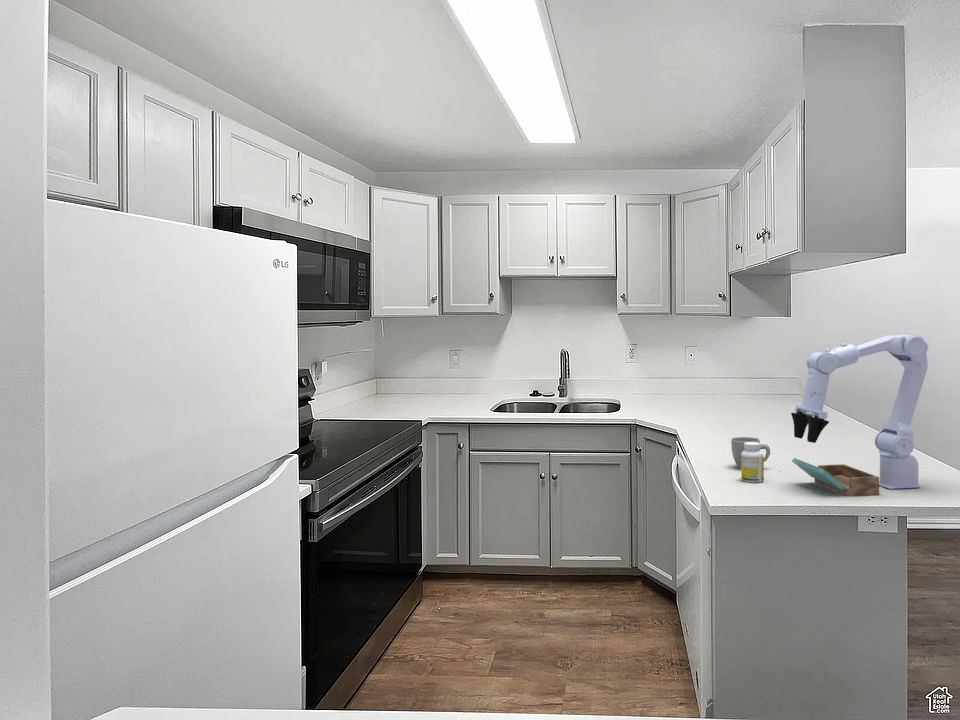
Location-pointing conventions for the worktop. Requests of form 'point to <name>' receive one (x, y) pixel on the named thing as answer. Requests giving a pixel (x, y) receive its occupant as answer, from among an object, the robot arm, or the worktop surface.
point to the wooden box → (851, 480)
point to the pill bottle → (752, 463)
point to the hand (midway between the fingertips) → (804, 440)
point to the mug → (739, 448)
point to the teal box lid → (818, 474)
